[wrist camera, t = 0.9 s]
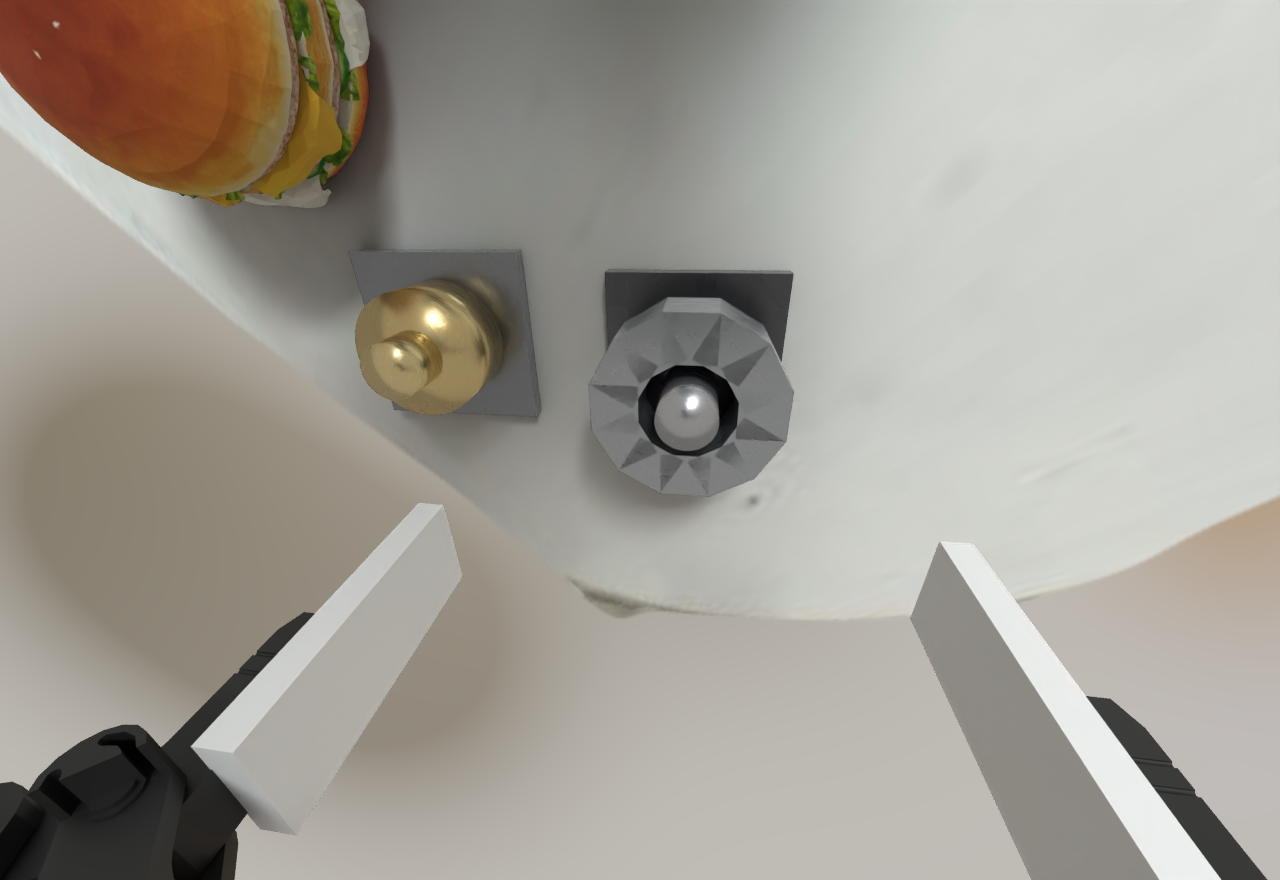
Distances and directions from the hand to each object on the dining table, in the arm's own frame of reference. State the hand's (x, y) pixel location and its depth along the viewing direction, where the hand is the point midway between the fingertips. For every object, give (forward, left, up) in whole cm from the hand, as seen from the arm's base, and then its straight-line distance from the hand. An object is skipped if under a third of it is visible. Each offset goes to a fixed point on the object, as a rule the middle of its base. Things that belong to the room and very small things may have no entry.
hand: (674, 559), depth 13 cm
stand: (0, 0, -17) cm, 17 cm away
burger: (-15, -22, -18) cm, 32 cm away
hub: (-1, -15, -17) cm, 23 cm away
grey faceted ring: (0, 0, -12) cm, 12 cm away
